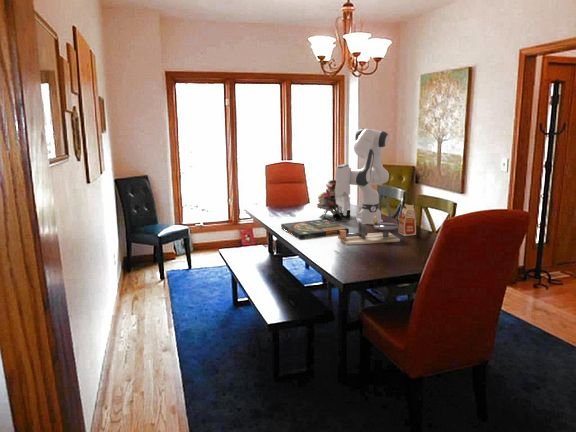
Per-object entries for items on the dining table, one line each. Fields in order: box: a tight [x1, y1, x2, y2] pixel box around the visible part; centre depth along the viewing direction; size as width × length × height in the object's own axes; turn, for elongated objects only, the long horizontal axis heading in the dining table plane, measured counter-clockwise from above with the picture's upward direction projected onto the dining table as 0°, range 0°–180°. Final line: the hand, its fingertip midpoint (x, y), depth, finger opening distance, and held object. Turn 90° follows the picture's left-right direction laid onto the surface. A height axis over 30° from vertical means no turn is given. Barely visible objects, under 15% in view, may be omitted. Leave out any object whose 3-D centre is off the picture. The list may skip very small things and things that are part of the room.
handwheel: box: [372, 217, 399, 231], centre depth 270 cm, size 15×15×6 cm
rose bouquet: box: [316, 179, 351, 223], centre depth 334 cm, size 26×29×30 cm
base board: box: [337, 221, 401, 246], centre depth 271 cm, size 18×34×11 cm, turn 98°
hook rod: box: [338, 230, 368, 240], centre depth 270 cm, size 4×17×5 cm, turn 98°
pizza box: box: [280, 218, 350, 240], centre depth 299 cm, size 35×35×4 cm
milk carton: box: [397, 203, 417, 237], centre depth 282 cm, size 9×9×20 cm
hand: (342, 213), depth 266 cm, fingers open, 8 cm apart
